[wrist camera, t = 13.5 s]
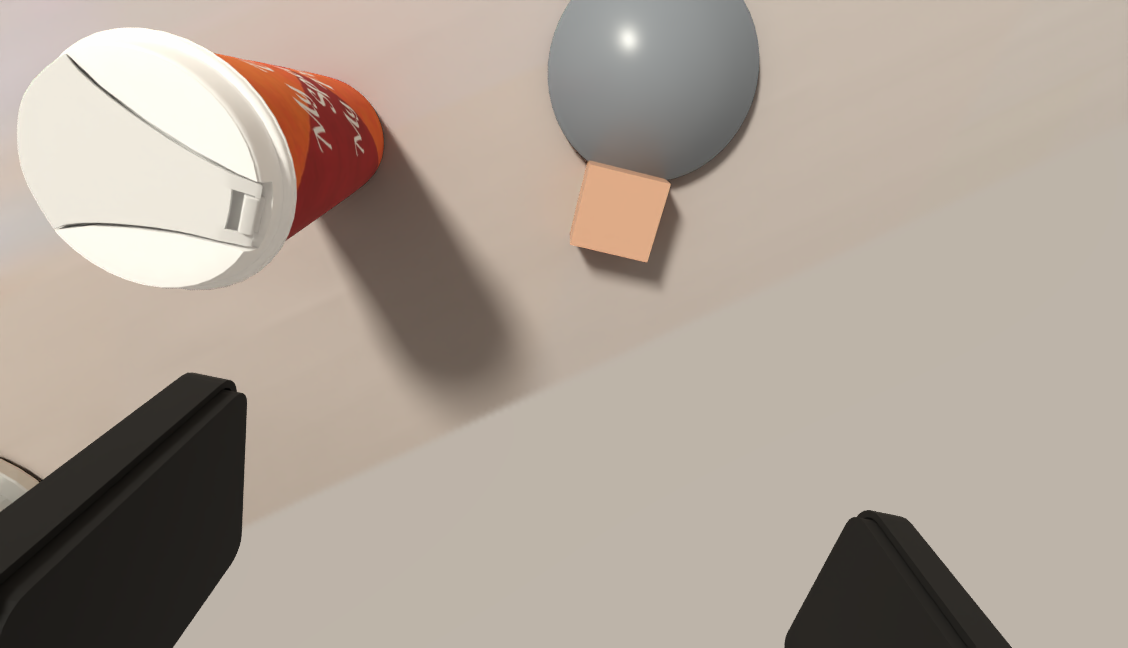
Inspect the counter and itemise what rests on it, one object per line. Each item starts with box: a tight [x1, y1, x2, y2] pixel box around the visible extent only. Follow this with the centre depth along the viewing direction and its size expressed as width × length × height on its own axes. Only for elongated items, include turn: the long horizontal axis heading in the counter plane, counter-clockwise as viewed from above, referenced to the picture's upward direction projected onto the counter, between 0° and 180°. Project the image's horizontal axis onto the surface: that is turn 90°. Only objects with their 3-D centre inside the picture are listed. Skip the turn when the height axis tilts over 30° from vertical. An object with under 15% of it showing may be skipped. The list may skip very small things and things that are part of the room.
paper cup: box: [17, 28, 384, 290], centre depth 23 cm, size 8×8×14 cm
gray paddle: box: [548, 0, 759, 262], centre depth 27 cm, size 14×10×2 cm
